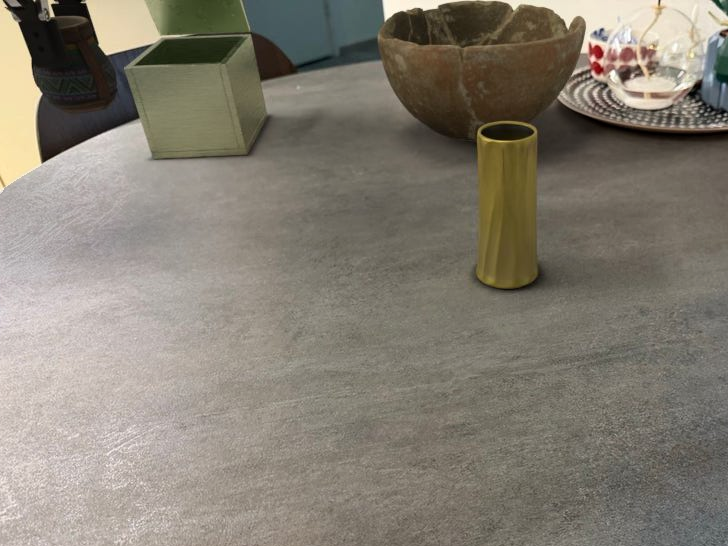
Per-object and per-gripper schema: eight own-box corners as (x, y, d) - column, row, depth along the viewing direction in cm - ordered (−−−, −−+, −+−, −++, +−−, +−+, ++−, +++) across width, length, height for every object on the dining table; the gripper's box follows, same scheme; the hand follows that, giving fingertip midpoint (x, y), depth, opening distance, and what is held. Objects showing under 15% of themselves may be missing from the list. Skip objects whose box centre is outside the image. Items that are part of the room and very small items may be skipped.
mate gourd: (141, 101, 72) (109, -6, 66) (81, 124, 67) (40, 10, 61) (90, 92, 75) (55, -12, 68) (28, 114, 69) (-17, 3, 63)
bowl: (511, 91, 115) (511, -10, 106) (617, 140, 97) (628, 23, 88) (356, 124, 104) (342, 14, 95) (442, 186, 86) (435, 57, 77)
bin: (247, 154, 96) (226, 63, 89) (152, 159, 95) (123, 68, 88) (268, 116, 108) (250, 34, 101) (184, 120, 108) (161, 37, 101)
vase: (480, 257, 72) (477, 118, 63) (540, 259, 71) (545, 119, 62) (472, 288, 67) (466, 142, 58) (535, 291, 66) (540, 144, 58)
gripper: (-8, -178, 63) (65, 35, 74) (-127, -177, 50) (-16, 84, 61) (77, -178, 64) (137, 34, 75) (-18, -177, 50) (72, 82, 61)
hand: (68, 54), depth 68 cm, fingers closed on mate gourd, 6 cm apart
